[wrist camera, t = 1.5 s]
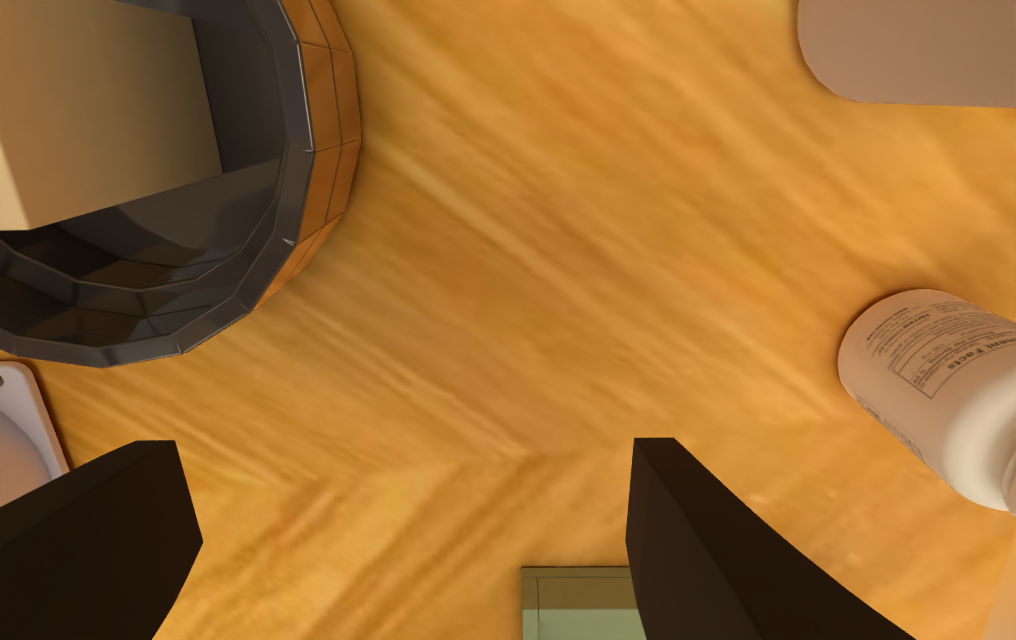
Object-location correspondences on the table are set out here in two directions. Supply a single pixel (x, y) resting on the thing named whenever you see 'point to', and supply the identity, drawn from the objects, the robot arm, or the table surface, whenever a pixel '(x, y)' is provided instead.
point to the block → (97, 108)
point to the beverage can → (913, 50)
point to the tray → (579, 604)
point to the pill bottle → (941, 387)
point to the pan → (202, 201)
